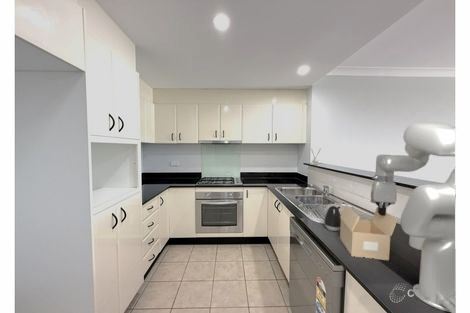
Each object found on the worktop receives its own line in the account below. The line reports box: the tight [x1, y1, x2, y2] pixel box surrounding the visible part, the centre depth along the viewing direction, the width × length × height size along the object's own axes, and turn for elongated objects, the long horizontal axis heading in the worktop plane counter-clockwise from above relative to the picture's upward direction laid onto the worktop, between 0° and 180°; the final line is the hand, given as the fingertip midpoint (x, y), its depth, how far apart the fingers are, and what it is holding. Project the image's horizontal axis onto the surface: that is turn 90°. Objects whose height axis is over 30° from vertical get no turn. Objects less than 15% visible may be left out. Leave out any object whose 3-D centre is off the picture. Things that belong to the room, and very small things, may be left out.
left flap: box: [340, 204, 360, 232], centre depth 110 cm, size 20×8×1 cm
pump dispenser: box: [323, 205, 341, 232], centre depth 132 cm, size 10×10×15 cm
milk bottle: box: [408, 235, 426, 251], centre depth 111 cm, size 8×8×20 cm
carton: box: [339, 219, 391, 261], centre depth 109 cm, size 20×16×12 cm
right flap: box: [371, 206, 398, 237], centre depth 107 cm, size 20×8×1 cm
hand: (381, 214), depth 107 cm, fingers closed
